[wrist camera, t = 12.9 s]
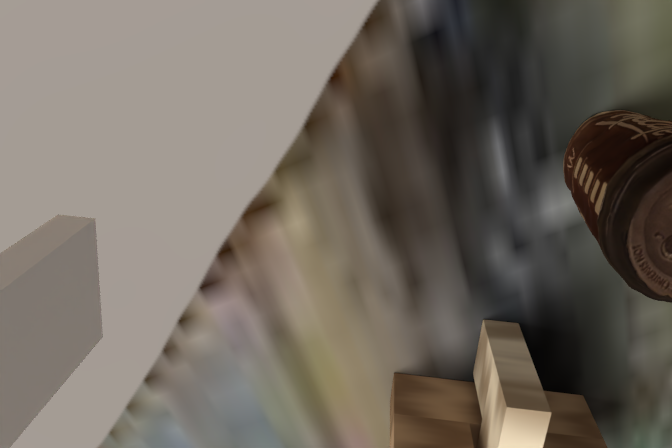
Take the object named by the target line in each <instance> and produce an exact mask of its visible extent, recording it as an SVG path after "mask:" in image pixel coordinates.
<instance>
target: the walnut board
mask: <svg viewBox="0 0 672 448" xmlns="http://www.w3.org/2000/svg"><path fill="white" fill-rule="evenodd" d="M544 394H545V396H546V399H547V402H548V404H549V407H550V410H551V412H552V413H551V417H550V421H549V425H548V429H547V433H546V437H545V441H544V445H543V448H607V446H606V444H605V441H604V439H603V437H602V435H601V433H600V431H599V429H598V426H597V424H596V422H595V420H594V418H593V416H592V414H591V411H590V409H589V407H588V405H587V403H586V401H585V399H584V396H583V395H575V394H567V393H559V392H550V391H544ZM481 423H482V415H481V410H480V405H479V400H478V396H477V391H476V386H475V382H466V381H458V380H450V379H441V378H433V377H425V376H416V375H408V374H399V373H394V377H393V385H392V392H391V399H390V448H477V443H478V438H479V433H480V428H481Z"/></svg>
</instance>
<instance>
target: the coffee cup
mask: <svg viewBox="0 0 672 448" xmlns="http://www.w3.org/2000/svg"><path fill="white" fill-rule="evenodd" d="M563 171H564V178H565V183H566V185H567V187H568V188H569V190H570V191H571V194H572V197H573V199H574V201H575V203H576V205H577V207H578V210H579V212H580V214H581V216H582V217H583V219H584V220H585V222H586V224H587V226H588V228H589V229H590V231H591V232H592V235H594V237H595V238H596V240H597V241H598V243H599V245H600V248H601V250H602V252H603V254H604V256H605V258H606V259H607V261H608V262H609V264H610V265H611V266H612V267H613V268H614V269H615V270H616V272H617V273H618V274H619V275H620V276H621V277H622V278H623V279H624V280H625V282H626V283H627V285H628V286H629V287H631V288H632V289H634V290H636V291H638V292H640V293H642V294H644V295H645V296H647V297H649V298H652V299H654V300H658V301H665V302H671V303H672V121H664V120H659V119H655V118H651V117H649V116H646V115H642V114H638V113H634V112H630V111H625V110H616V111H606V112H601V113H598V114H596V115H595V116H593V117H590V118H589V119H588V120H586V121H585V122H584V123H583V124H582V125H581V126H580V127H579V128H578V129H577V131H576V132H575V134H574V135H573V137H572V138H571V140H570V142H569V144H568V147H567V149H566V152H565V155H564V160H563Z"/></svg>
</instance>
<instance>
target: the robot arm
mask: <svg viewBox="0 0 672 448" xmlns="http://www.w3.org/2000/svg"><path fill="white" fill-rule="evenodd" d="M102 337H103V334H102V319H101V303H100V287H99V272H98V257H97V240H96V225H95V219H94V218H85V217H75V216H67V215H57V216H55V217H54V218H52V219H51V220H49V221H48V222H46V223H45V224H43V225H42V226H40V227H39V228H37V229H36V230H35V231H33V232H32V233H30V234H29V235H27V236H25V237H24V238H23V239H21V240H20V241H18V242H17V243H15V244H14V245H12V246H11V247H9V248H8V249H6V250H5V251H3V252H2V253H1V254H0V448H10V447H11V446H12V444H13V443H14V442H15V441H16V440H17V438H18V437H19V436H20V435H21V434H22V432H23V431H24V430H25V429H26V428H27V426H28V425H29V424H30V423H31V422H32V420H33V419H34V418H35V417H36V416H37V415H38V413H39V412H40V411H41V410H42V409H43V407H44V406H45V405H46V404H47V402H48V401H49V400H50V399H51V398H52V397H53V395H54V394H55V393H56V392H57V391H58V389H59V388H60V387H61V386H62V385H63V384H64V382H65V381H66V380H67V379H68V378H69V376H70V375H71V374H72V373H73V372H74V370H75V369H76V368H77V367H78V366H79V365H80V363H81V362H82V361H83V360H84V359H85V357H86V356H87V355H88V354H89V352H90V351H91V350H92V349H93V348H94V347H95V345H96V344H97V343H98V342H99V341H100V339H101V338H102Z"/></svg>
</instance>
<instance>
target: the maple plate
mask: <svg viewBox="0 0 672 448" xmlns="http://www.w3.org/2000/svg"><path fill="white" fill-rule="evenodd" d="M473 376H474V381H475V386H476V391H477V396H478V400H479V405H480V410H481V415H482V423H481V428H480V433H479V438H478V443H477V448H543V445H544V441H545V437H546V433H547V429H548V425H549V421H550V417H551V413H552V412H551V410H550V407H549V404H548V402H547V399H546V396H545V394H544V391H543V388H542V385H541V383H540V380H539V377H538V375H537V372H536V369H535V367H534V364H533V361H532V359H531V356H530V353H529V351H528V348H527V345H526V342H525V340H524V337H523V334H522V332H521V329H520V326H519V324H518V323H511V322H502V321H493V320H484V319H483V323H482V328H481V333H480V339H479V344H478V349H477V355H476V360H475V365H474V371H473Z"/></svg>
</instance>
